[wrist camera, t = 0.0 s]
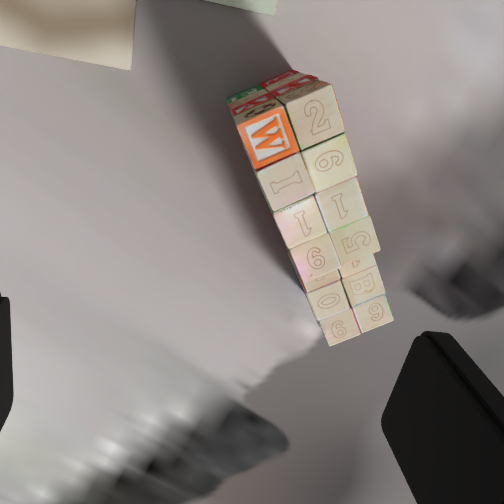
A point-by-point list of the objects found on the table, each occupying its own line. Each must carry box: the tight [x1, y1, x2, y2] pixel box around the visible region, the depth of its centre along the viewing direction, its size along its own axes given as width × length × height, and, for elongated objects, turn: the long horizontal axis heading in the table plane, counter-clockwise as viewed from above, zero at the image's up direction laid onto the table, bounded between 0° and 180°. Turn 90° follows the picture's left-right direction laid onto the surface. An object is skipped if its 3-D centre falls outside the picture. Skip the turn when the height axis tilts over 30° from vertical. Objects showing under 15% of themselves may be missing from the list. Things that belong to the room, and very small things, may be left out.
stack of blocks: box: [226, 70, 394, 346], centre depth 37 cm, size 21×6×12 cm, turn 22°
